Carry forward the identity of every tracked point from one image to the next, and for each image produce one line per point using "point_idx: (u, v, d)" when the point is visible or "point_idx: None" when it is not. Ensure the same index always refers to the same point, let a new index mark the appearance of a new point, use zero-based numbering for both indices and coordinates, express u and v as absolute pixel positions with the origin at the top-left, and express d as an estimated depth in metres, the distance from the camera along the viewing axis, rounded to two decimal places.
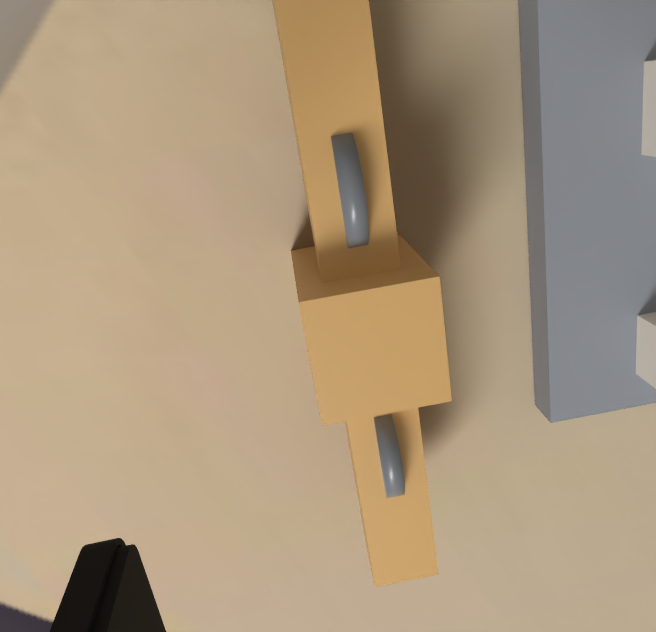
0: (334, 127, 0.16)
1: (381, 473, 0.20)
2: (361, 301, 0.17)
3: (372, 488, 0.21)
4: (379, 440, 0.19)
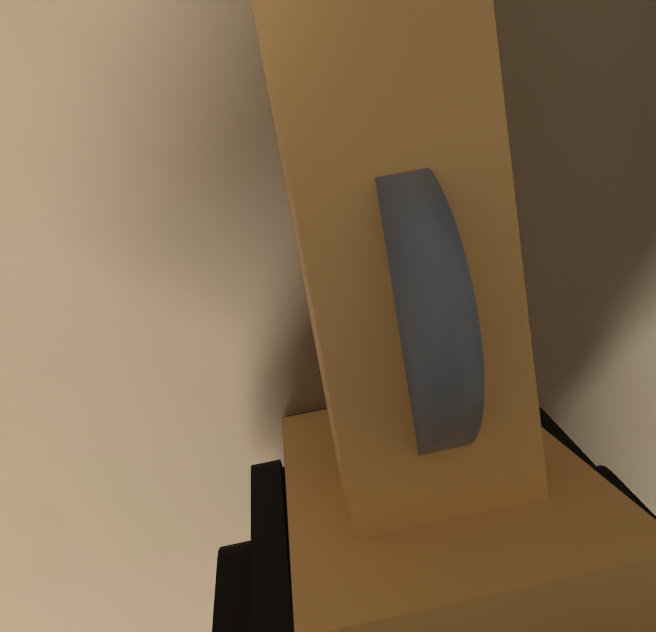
0: (383, 154, 0.06)
1: None
2: (474, 626, 0.06)
3: None
4: None
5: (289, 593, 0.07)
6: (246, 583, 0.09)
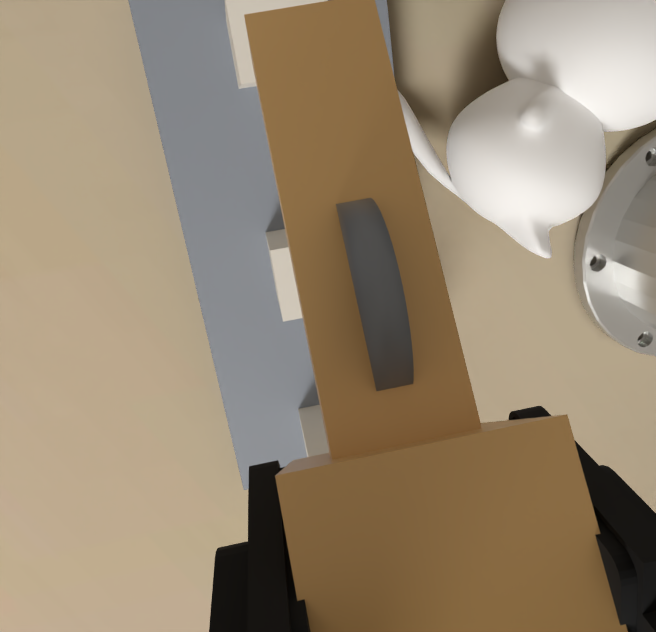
0: (341, 191, 0.10)
1: None
2: (408, 472, 0.08)
3: None
4: None
5: (286, 594, 0.07)
6: (244, 584, 0.09)
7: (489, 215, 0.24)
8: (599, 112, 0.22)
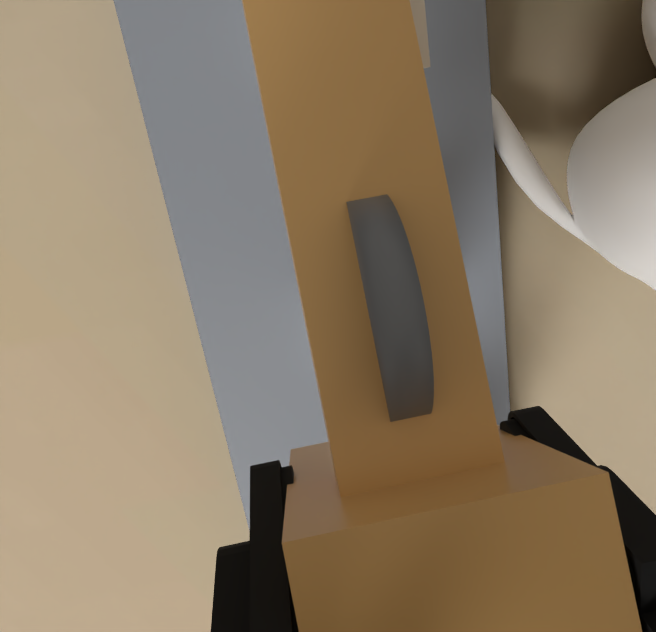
0: (352, 185, 0.09)
1: None
2: (430, 538, 0.07)
3: None
4: None
5: (288, 593, 0.07)
6: (246, 583, 0.09)
7: (641, 272, 0.16)
8: None
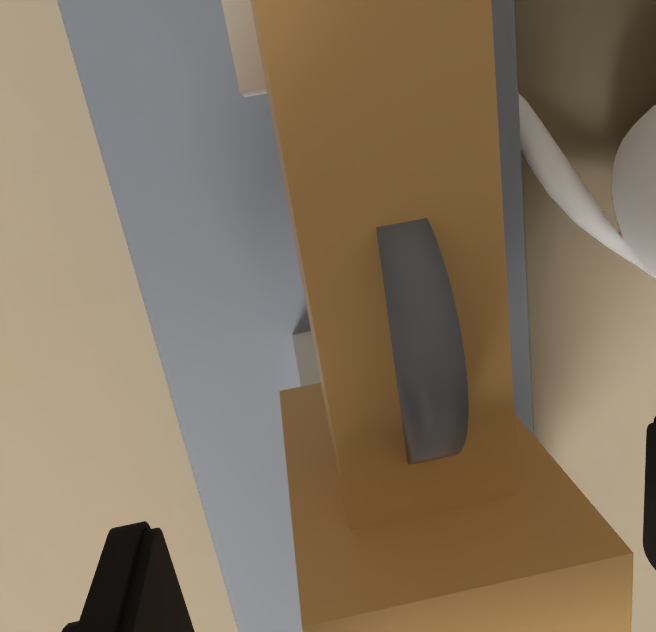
0: (385, 206, 0.07)
1: None
2: (450, 614, 0.07)
3: None
4: None
5: None
6: None
7: None
8: None
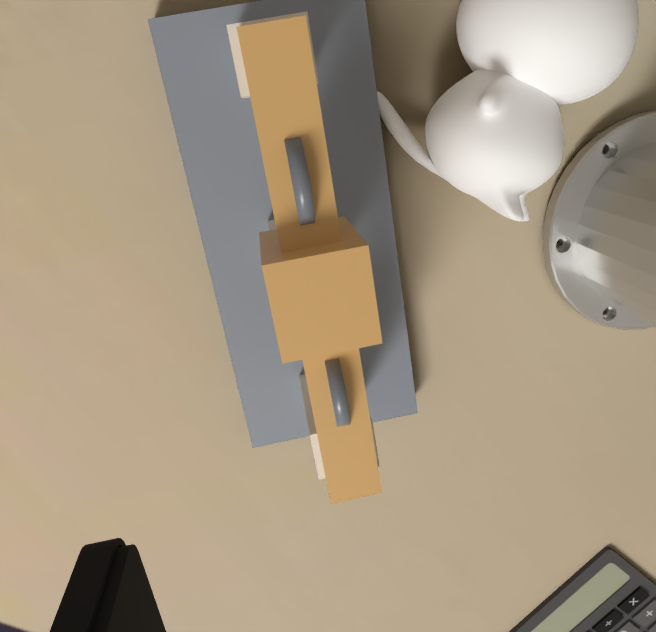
0: (286, 132, 0.22)
1: (332, 407, 0.26)
2: (309, 264, 0.22)
3: (325, 419, 0.26)
4: (328, 378, 0.24)
5: None
6: None
7: (467, 190, 0.28)
8: (549, 91, 0.26)
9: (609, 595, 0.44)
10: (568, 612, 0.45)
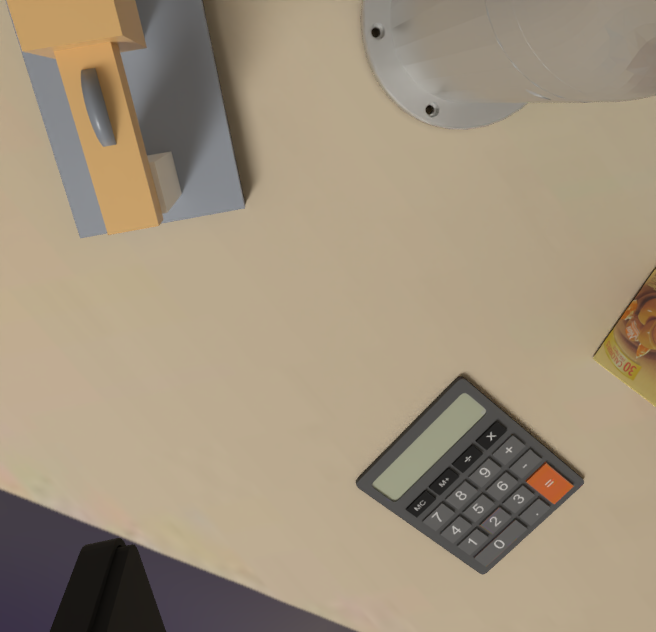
0: None
1: None
2: None
3: (90, 137, 0.26)
4: (82, 83, 0.25)
5: None
6: None
7: None
8: None
9: (467, 429, 0.45)
10: (426, 446, 0.45)
